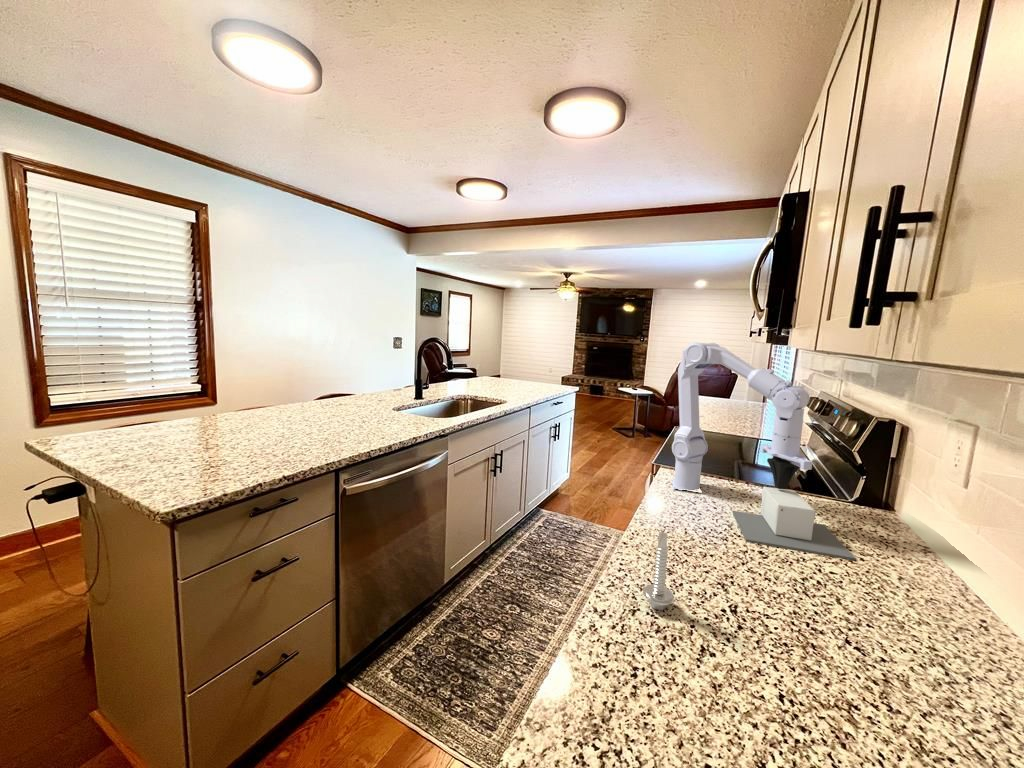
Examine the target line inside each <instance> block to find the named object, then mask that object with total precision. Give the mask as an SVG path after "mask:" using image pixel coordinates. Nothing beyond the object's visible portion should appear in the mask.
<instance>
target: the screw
mask: <svg viewBox="0 0 1024 768" xmlns="http://www.w3.org/2000/svg"><path fill="white" fill-rule="evenodd" d="M667 543H668V534H667V533H666V532H664V531H662V532H658V541H657V545H656V546H655V547H656V550H655V552H656V553H655V557H654V558H655V560H654V562H655V563H654V565H655V566H654V569H653V572H654V573H653V575H654V576H653V583H651V584H648V585H646V586H644V587H643V590H642V594H643V596H644V597H645V599H647V601H648V604H649V606H650V607H651V608H652V609H654V610H657V611H664V610H665V609H666V608H667V606H668V605H671V604H673V603H674V601H675V595H674V593H673V592H672V591H671V590H670V589H669V588H667V587H666V579H667V578H666V577H667V566H668V564H667V563H668V552H669V551H668V546H667Z"/></svg>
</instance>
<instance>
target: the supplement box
mask: <svg viewBox="0 0 1024 768" xmlns="http://www.w3.org/2000/svg"><path fill="white" fill-rule="evenodd" d="M761 496H762V497H761V504H760V511H759V512H760V515H762V516H763V517H764V519H765V520H766V522H767V523H768V525H769V526H770V527H771V529H772V530H773V532H774V533H775V535H780V536H786V537H792V538H798V539H804V540H810V541H811V539H812V531H813V525H814V523H815V517H816V513H817V511H816V510H815V509H814V508H813V507H812V506H811V505H810V504H809V503H808V501H806V500H805V499H804V498H803V497H802V496H801V495H800V494H799V493H798V492H797V491H796V490H792V489H778V488H776V487H771V486H769V487H768V486H763V488H762V495H761Z"/></svg>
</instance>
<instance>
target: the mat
mask: <svg viewBox="0 0 1024 768" xmlns="http://www.w3.org/2000/svg"><path fill="white" fill-rule="evenodd" d="M731 512H732V515H733V517H734V519H735V522H736V523H737V526H738V528H739V530H740V532H741V535H742V536H743V537H744V540H745V542H748V543H753V544H760V545H765V546H771V547H777V548H782V549H787V550H794V551H798V552H803V553H805V552H806V553H811V554H815V555H823V556H828V557H833V558H839V559H845V560H851V561H856V557H855V556H854V555H853V554H852V553H851V551H849V549H847V548H846V546H845V545H844V544H843V543H842V542H841V541H840V540H839V539H838V538H837V537H836V536H835V535H834V534H833V532H831V530H829V529H830V528H828V527H827V526H826V525H825V524H822V523H817V522H816V523H815V522H814V525H813V531H812V539H811V541H810V540H804V539H798V538H792V537H786V536H780V535H775V533H774V532H773V530H772V529H771V527H770V526H769V525H768V523H767V522H766V520H765V519H764V517H763V516H762V514H756V513H752V512H751V513H750V512H745V511H744V512H743V511H739V510H738V511H737V510H732V511H731Z"/></svg>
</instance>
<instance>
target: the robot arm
mask: <svg viewBox="0 0 1024 768" xmlns="http://www.w3.org/2000/svg"><path fill="white" fill-rule="evenodd" d="M714 365H722V366H724V368H727V369H728V370H730V371H732V372H734V373H736V374H737V375H739V376H741V377H743V378H744V379H746V380H747V384H748V387H750V388H751V389H752V390H754V391H756V392H757V393H759V394H760V395H762V396H763V397H765V398H766V399H768V400H770V401H771V403H772V406H774V409H775V415H774V419H773V420H774V421H773V431H772V439H771V444H760V451H759V452H761V453H764V454H767V455H768V456H771V457H770V458H767V460H766V462H767V463H768V465H769V468H770V470H771V473H772V476H773V482H774V488H778V489H785V490H788V489H787V488H788V486H789V484H790V482H791V480H792V478H793V476H794V475H795V474H796V473H797V471H798V470H799V469H801V470H804V471H805V470H809V471H811V470H812V468H813V461H812V460H810V459H807V458H806V457H804V456H803V455H802V454H800V449H801V441H802V432H803V424H804V415H805V414H804V413H805V407H807V406H808V405H809V403H810V394H809V393H808V391H807V390H806V389H805V388H804V387H802V386H801V385H792V384H793V383H792V381H790V380H784V379H783V378H781V376H780V377H779V376H778V375H776V374H775V370H773V369H771V368H768V369H767V368H758V369H757V368H755V367H754V366H752V365H751V364H749V363H747V362H746V361H745V360H743V359H741V358H740V357H739V356H738V355H736V354H734V353H733V352H731V351H730V350H728V349H727V348H725V346H720V345H719V343H715V342H709V343H708V342H707V343H705V342H691V343H690V344H689V345H687V347H685V348H684V349H683V350H682V359H681V361H680V363H679V366H678V369H677V380H678V382H677V383H678V410H679V411H678V413H679V428H678V429H677V430H676V432H675V433H674V435H673V436H674V438H673V439H674V440H673V442H672V444H671V451H672V454H673V455H674V458H675V465H674V466H675V467H674V476H673V478H674V481H672V480H671V485H672V484H673V486H672V489H673V488H674V489H673V490H675V489H683V490H684V489H685V490H686V489H688V490H695V489H699V488H700V486H701V474H702V463H703V462H702V461H703V457H704V455H706V454H707V452H708V449H709V447H708V442H707V440H706V438H705V432H704V430H702V428H701V427H700V426H701V425H700V399H699V398H700V397H699V375H700V374H701V373H702V372H703V371H705V370H706V369H707V368H709V367H712V366H714ZM678 487H679V488H678Z"/></svg>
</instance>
